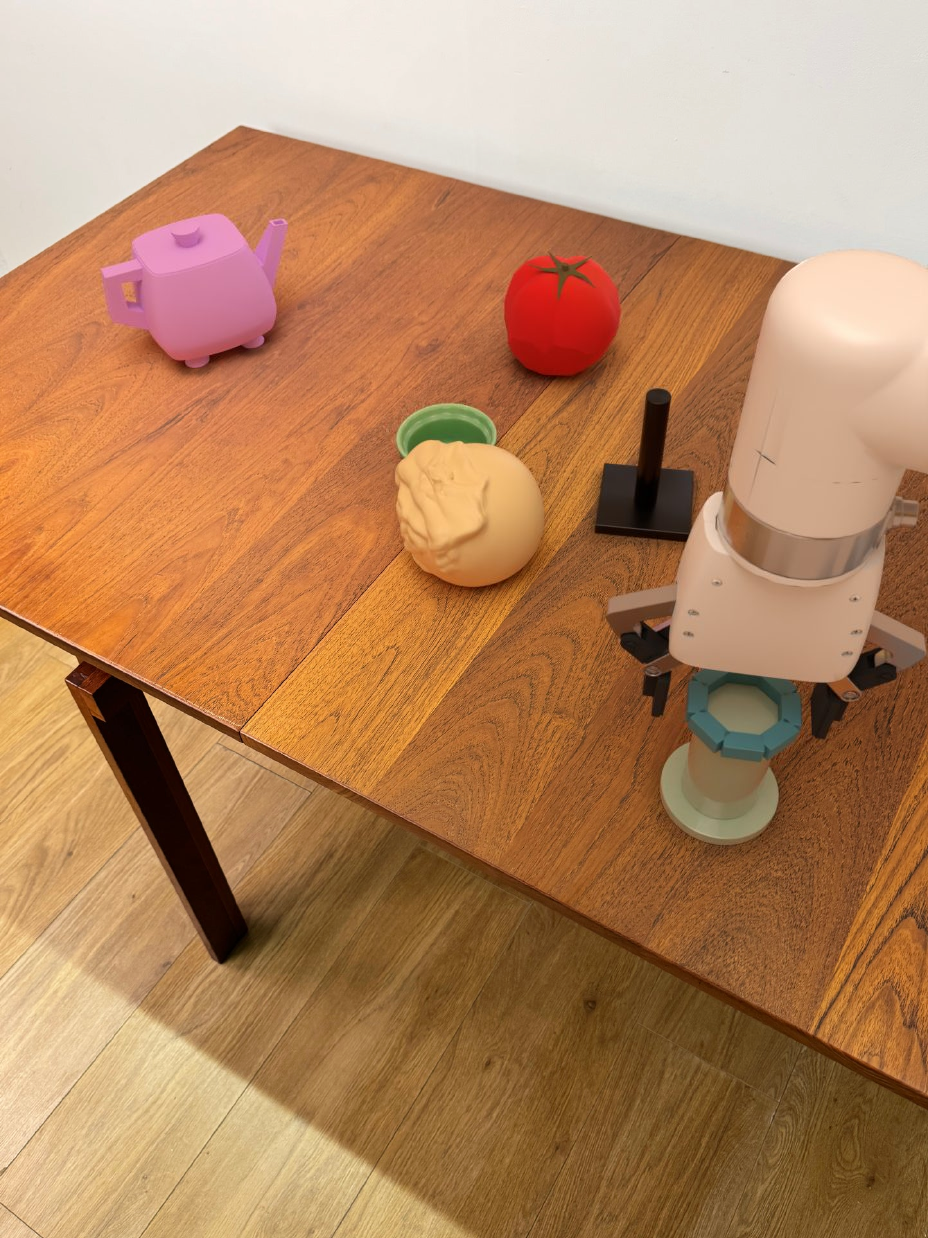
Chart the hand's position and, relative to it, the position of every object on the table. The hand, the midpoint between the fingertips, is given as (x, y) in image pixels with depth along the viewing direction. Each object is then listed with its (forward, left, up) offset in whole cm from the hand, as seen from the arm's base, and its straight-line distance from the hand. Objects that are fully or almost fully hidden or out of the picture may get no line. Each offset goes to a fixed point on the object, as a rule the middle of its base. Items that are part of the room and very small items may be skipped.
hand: (736, 708), depth 62 cm
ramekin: (+25, -30, -11) cm, 40 cm away
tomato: (+17, -48, -11) cm, 52 cm away
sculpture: (+21, -20, -11) cm, 31 cm away
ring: (0, 0, -1) cm, 1 cm away
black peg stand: (+7, -28, -11) cm, 31 cm away
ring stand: (0, 0, -11) cm, 11 cm away
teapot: (+54, -48, -11) cm, 73 cm away
